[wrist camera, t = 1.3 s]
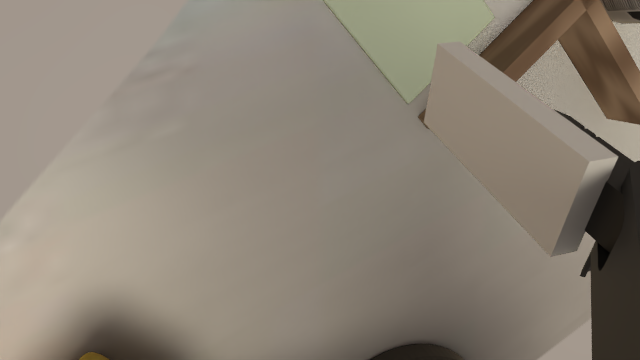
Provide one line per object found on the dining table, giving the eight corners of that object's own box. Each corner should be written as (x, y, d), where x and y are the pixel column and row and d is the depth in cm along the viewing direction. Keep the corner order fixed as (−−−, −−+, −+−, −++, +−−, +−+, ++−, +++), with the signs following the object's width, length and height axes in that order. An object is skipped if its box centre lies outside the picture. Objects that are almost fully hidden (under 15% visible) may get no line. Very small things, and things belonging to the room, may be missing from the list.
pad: (492, 17, 39) (494, 17, 39) (406, 103, 39) (408, 104, 39) (414, -100, 35) (416, -101, 35) (318, -5, 35) (320, -6, 35)
